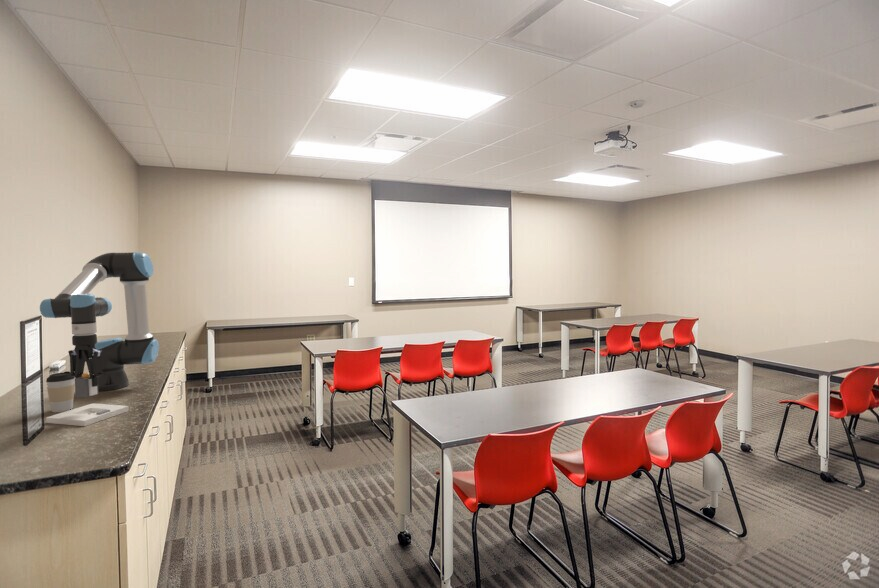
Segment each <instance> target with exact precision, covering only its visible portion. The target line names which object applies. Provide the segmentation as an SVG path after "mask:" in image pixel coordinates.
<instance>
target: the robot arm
mask: <svg viewBox="0 0 879 588" xmlns="http://www.w3.org/2000/svg"><path fill="white" fill-rule="evenodd" d="M153 275H154V265H153V262H152V259H151V258H150V256H149V255H148V254H147V253H145V252H136V251H135V252H107V253H103V254H100V255H99V256H97V257H94V258H92V259H91V260H89V261H87V263H85V265H84V266H83V267H82V270H81V272H80V273H79V274H78V275H77V276H76V277H74V279H73V280H72V281H71V282H70V283H69V284H68V285H67V286H65V288H63V290H62V291H61V292H59V293H58V295H56V296H55V297H54V298H45V299H43V300H42V301H41V302H40V305H39V311H40V315H41V316H42V317H44V318H48V319H58V318H61V319H62V318H71V333H72V336H71V340H72V341H71V343H72V346H74V349H71V350H70V349H69V350H68V355H69V367H70V369H69V370H70V371H69V372H70V374H71V376H74V377H75V378H79V377H82V374H83V373H85V372H84V370H85V365H86V367H87V370H88V373H89V375H90V378H89V379H88V380H89V396H90V397H92V395H93V396H97V395H98V394H97V386H98V392H100V391H101V392H103V391H111V390H117V389H122V388H125V387H127V386H129V385H130V380H129V378H128V376H127V374H126V373H127V372H126V371H125V366H127V365H129V366H130V365H145V364H152V363H153V362H155V361H156V360H157V358H158V355H159V350H160V345H159V344H160V343H159V340H158V339H155V338H154V334H152V333H151V332H150V325H149V311H148V299H147V289H146V288H147V287H146V286H147V283H148V282H149V281H150V278H151V277H152V276H153ZM109 278H119V283H121V284H122V285H123V286H124V287H123V289H124V299H125V300H124V301H125V310H126V322H127V325H126V326H127V335H126V336H125V337H124V339H123V337H113V338H108V339H107V338H106V339H103V340H99V341H98V334H96V333H97V332H98V330H97V317H103V316H106V315H108V314H109V313H111V311H112V308H113V307H112V306H113V305H112V302H111V301H110V300H109V299H108V298H106V297H97V296H96V297H95V295H94V294H93V293H90V292H91V291H92V290H93V289H94V288H95V287H96V286H97V285H98V283H100V282H103V281H105V280H106V279H109ZM75 378H74V379H75ZM96 394H97V395H96Z"/></svg>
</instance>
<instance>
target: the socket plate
mask: <svg viewBox="0 0 879 588" xmlns="http://www.w3.org/2000/svg"><path fill="white" fill-rule="evenodd" d="M129 408H130V407H129V405H120V404H119V405H118V404H104V403H93V402H91V403H90V404H86V405H83V406H79V407H76V408H73V409H71V410H68V411H63V412H58V413H57V414H53V415H51V416H47V417H45V422H46V424H54V425H55V424H57V425H69V426H79V427H80V426H81V427H87V426H89V425H92V424H95V423H97V422H101V421H105V420H107V419H109V418H112V417H115V416H119V415H121V414H124V413H126V412H129Z"/></svg>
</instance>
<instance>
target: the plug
mask: <svg viewBox="0 0 879 588" xmlns="http://www.w3.org/2000/svg"><path fill="white" fill-rule="evenodd" d="M89 378H90V375H89V372H83V374H82V377H79V378H74V398H75V397H76V398H89V397H92V396H94V395H92V396H89V380H88V379H89ZM97 395H99V391H98V386H97V394H96V395H95V396H97Z"/></svg>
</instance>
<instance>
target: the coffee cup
mask: <svg viewBox="0 0 879 588" xmlns="http://www.w3.org/2000/svg"><path fill="white" fill-rule="evenodd" d="M45 382H46V385H47V387H46V388H47V389H46V390H47V394H48V402H49V405H50V409H51V412H52V413H63V412H66V411H69V410H70V409H71V410H72V408H73V409H74V398H75V377H74V376H71V374H70V371H69V370H68V371H64V372H63V371H62V372H56V373H53V374H52V373H51V374H49V376H48V377H46V381H45Z"/></svg>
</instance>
